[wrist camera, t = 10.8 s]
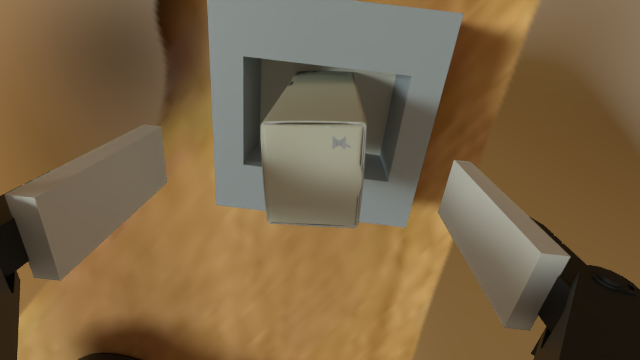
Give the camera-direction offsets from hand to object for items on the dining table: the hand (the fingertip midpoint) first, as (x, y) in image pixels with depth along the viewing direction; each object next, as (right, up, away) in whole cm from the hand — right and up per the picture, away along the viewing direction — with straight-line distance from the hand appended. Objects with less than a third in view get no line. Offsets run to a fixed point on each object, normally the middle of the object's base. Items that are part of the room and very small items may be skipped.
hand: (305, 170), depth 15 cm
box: (+1, +5, +11) cm, 12 cm away
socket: (+1, +6, +11) cm, 12 cm away
